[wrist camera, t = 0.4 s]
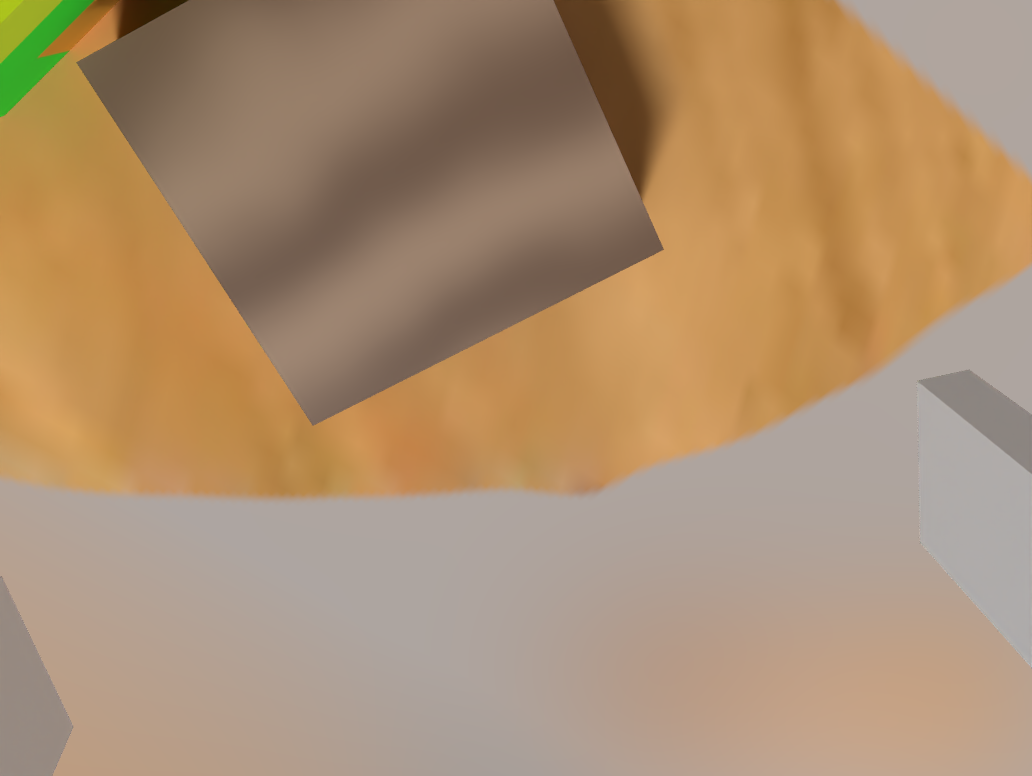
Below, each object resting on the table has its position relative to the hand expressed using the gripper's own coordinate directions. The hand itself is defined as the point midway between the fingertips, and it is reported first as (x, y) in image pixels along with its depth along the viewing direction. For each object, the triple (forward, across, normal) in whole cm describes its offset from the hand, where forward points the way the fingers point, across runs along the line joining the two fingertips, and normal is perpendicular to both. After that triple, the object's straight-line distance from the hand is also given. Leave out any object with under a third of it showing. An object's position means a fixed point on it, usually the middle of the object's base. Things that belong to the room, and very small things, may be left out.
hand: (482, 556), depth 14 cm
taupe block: (+26, -1, +2) cm, 26 cm away
